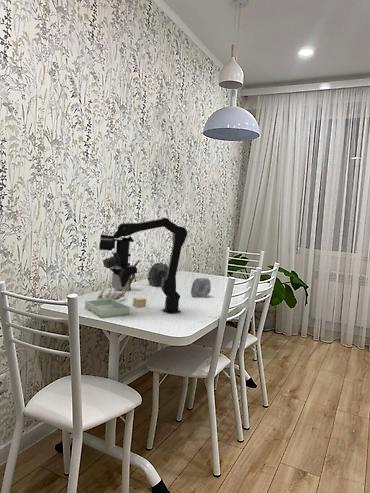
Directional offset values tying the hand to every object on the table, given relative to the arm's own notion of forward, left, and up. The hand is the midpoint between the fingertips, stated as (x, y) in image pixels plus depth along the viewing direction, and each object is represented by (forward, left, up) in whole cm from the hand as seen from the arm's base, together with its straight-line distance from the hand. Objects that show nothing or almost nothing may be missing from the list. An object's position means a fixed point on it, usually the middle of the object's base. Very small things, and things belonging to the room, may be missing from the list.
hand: (120, 285), depth 172 cm
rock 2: (+9, -55, -12) cm, 57 cm away
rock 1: (+44, -50, -12) cm, 67 cm away
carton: (+4, -13, -12) cm, 18 cm away
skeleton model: (+23, -8, -12) cm, 27 cm away
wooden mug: (+39, -25, -12) cm, 48 cm away
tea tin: (0, 0, -1) cm, 1 cm away
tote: (+2, +5, -12) cm, 13 cm away
